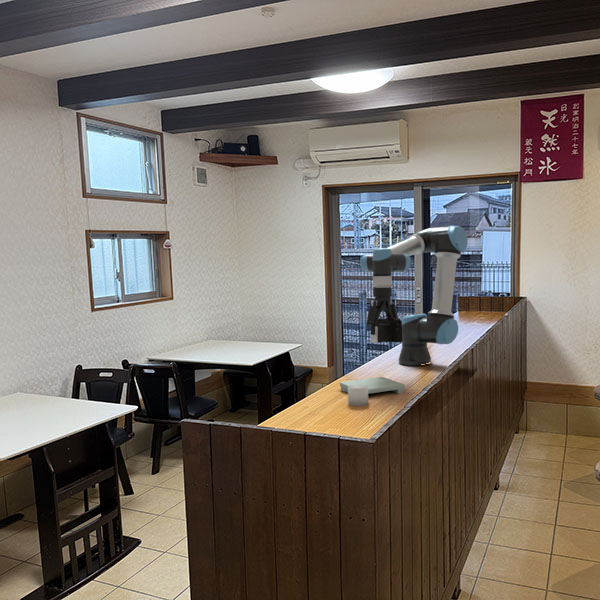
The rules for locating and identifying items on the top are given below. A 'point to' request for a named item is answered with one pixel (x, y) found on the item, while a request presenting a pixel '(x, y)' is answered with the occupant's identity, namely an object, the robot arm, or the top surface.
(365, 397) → the grey rounded block
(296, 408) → the top surface
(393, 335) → the camera
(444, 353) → the top surface
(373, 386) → the stand
